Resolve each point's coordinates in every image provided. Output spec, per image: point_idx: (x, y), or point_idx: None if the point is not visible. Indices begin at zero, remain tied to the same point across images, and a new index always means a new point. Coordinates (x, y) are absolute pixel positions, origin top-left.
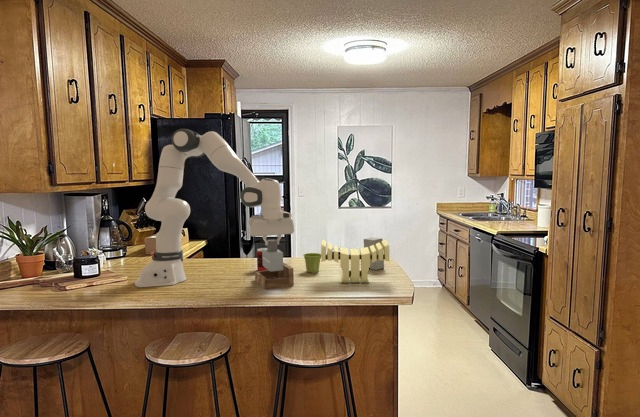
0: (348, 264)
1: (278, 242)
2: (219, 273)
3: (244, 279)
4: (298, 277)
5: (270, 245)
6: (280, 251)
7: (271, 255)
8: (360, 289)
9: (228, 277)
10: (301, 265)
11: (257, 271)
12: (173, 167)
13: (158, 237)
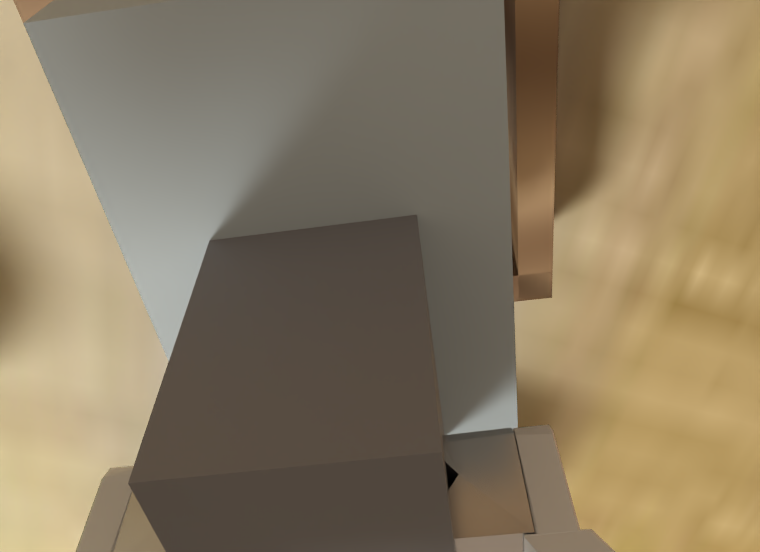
0: None
1: (112, 515)
2: (755, 503)
3: (632, 284)
4: (17, 191)
5: (430, 349)
6: (119, 183)
7: None
8: None
9: (744, 386)
10: (21, 545)
11: (523, 290)
12: None
13: None
